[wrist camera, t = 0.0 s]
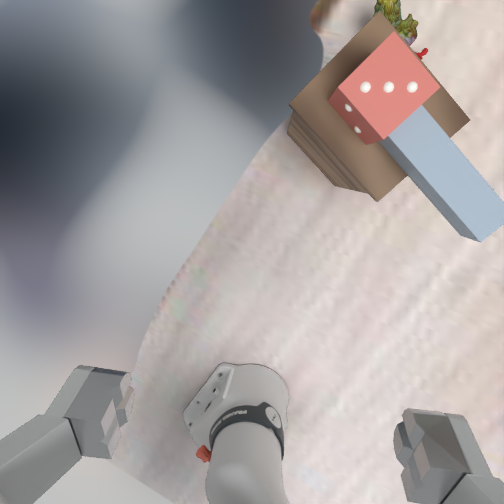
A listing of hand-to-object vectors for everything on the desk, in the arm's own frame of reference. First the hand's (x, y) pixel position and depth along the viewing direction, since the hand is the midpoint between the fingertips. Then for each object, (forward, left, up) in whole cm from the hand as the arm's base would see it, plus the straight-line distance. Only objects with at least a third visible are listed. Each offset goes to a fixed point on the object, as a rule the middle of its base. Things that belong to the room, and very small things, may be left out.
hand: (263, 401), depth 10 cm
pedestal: (+15, +2, -52) cm, 54 cm away
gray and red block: (+15, -3, -26) cm, 30 cm away
